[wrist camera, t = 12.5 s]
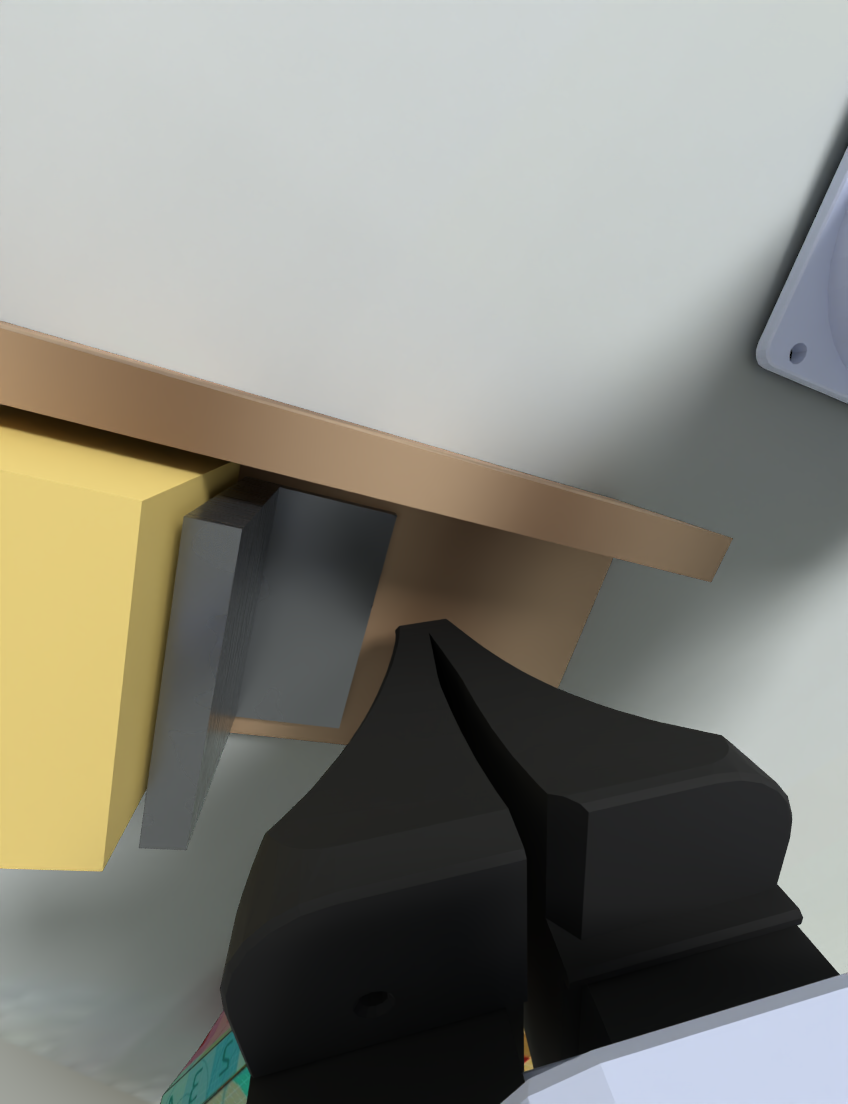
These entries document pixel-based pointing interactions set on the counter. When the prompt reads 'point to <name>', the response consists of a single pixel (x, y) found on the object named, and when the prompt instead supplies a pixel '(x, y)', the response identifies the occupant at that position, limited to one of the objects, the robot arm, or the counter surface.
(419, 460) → the shelf tray
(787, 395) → the counter surface
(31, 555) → the pale yellow upright block
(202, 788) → the bookend
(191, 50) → the counter surface
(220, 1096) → the puzzle game
